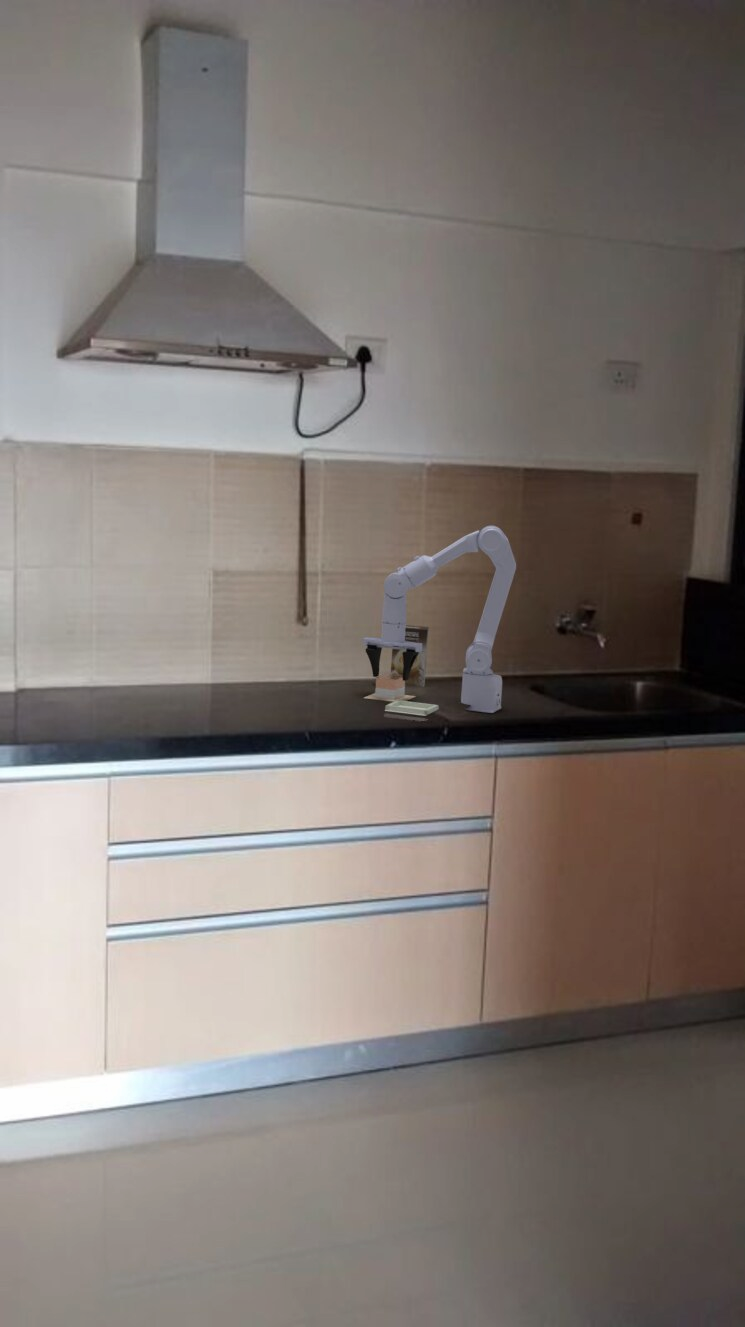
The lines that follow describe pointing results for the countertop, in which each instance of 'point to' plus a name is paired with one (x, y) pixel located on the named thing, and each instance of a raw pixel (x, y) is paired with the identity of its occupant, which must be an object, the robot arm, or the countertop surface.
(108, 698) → the countertop surface
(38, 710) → the countertop surface
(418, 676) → the coffee box
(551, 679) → the countertop surface
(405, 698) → the stand
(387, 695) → the housing
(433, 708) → the stand
